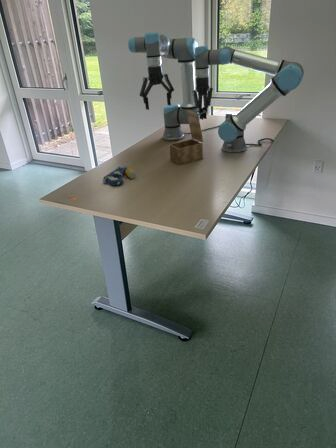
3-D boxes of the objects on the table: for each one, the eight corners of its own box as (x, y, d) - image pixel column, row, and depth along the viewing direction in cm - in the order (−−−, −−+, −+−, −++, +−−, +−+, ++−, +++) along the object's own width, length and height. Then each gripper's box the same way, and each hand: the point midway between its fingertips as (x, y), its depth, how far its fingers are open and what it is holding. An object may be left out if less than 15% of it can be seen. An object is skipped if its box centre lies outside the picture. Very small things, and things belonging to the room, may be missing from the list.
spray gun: (141, 172, 194) (120, 170, 201) (140, 166, 192) (119, 164, 199) (122, 188, 179) (100, 185, 185) (121, 181, 177) (98, 178, 183)
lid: (196, 114, 192) (208, 108, 194) (186, 110, 201) (198, 105, 203) (201, 142, 202) (213, 136, 204) (191, 138, 211) (203, 132, 213)
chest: (179, 164, 202) (178, 149, 197) (170, 159, 211) (169, 144, 206) (202, 158, 208) (202, 143, 203) (193, 153, 217) (192, 138, 212)
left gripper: (135, 69, 169) (140, 112, 181) (178, 63, 178) (181, 104, 189) (130, 68, 175) (135, 110, 186) (172, 62, 184) (174, 102, 195)
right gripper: (194, 79, 184) (196, 122, 196) (216, 75, 189) (216, 117, 202) (187, 78, 190) (189, 119, 202) (209, 74, 195) (209, 115, 208)
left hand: (158, 107), depth 188 cm, fingers open, 13 cm apart
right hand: (203, 118), depth 202 cm, fingers closed on lid, 2 cm apart
